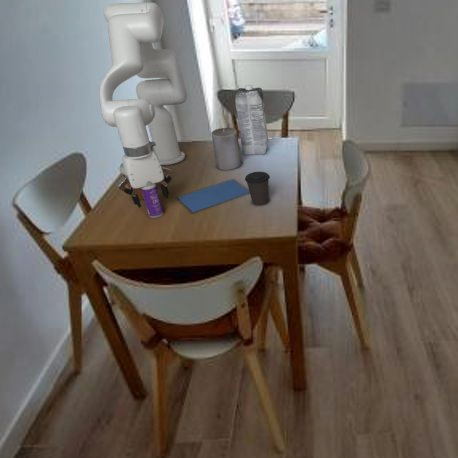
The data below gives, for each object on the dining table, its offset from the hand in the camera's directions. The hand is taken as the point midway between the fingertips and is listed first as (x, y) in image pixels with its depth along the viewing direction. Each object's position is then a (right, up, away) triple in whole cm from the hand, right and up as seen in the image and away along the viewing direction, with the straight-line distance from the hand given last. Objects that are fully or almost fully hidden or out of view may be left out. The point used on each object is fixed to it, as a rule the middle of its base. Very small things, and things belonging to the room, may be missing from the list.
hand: (152, 200), depth 136 cm
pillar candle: (+16, +16, +34) cm, 41 cm away
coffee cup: (+33, 0, +9) cm, 34 cm away
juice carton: (+25, +24, +45) cm, 57 cm away
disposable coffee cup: (-9, +3, +14) cm, 17 cm away
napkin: (+16, +3, +13) cm, 21 cm away
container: (0, -4, +3) cm, 5 cm away
